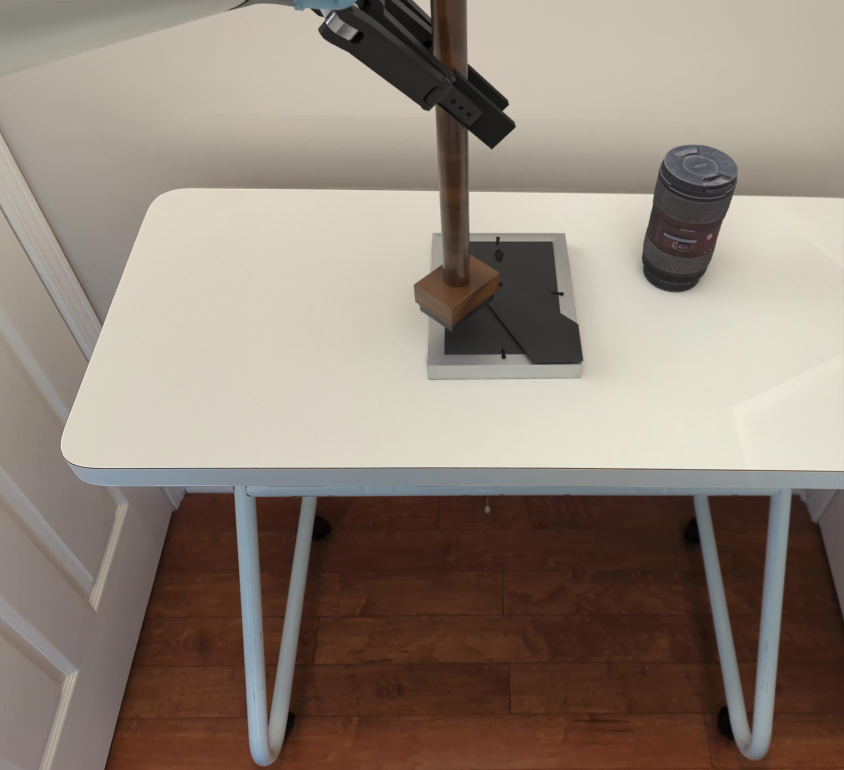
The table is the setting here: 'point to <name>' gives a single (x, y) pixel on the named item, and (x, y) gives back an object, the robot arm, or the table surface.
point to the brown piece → (453, 192)
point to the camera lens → (687, 215)
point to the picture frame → (513, 314)
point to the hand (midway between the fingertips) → (499, 124)
